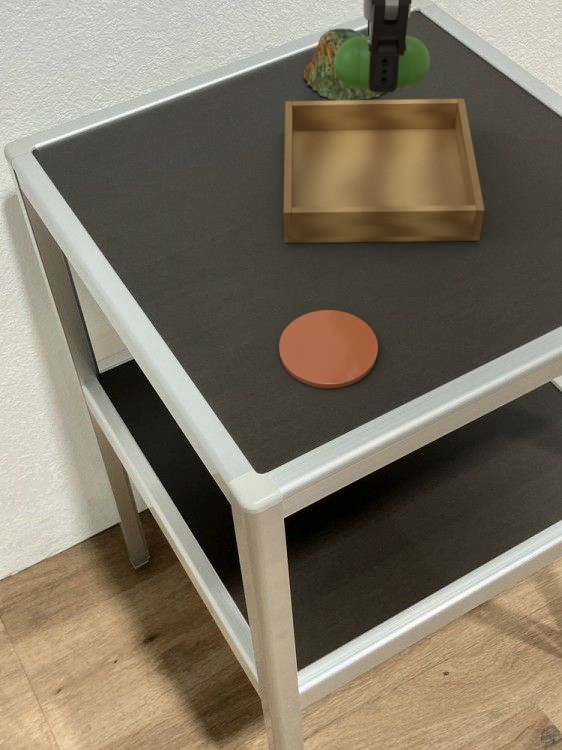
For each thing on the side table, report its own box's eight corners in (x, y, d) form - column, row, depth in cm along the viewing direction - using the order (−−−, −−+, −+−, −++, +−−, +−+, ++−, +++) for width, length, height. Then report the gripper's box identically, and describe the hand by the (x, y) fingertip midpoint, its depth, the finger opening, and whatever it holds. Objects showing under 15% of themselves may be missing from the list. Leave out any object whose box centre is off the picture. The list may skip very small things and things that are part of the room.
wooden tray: (459, 129, 97) (464, 98, 94) (479, 241, 86) (484, 210, 83) (286, 131, 97) (285, 101, 94) (284, 243, 87) (283, 212, 84)
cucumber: (425, 69, 80) (429, 25, 77) (429, 98, 77) (433, 53, 74) (333, 71, 80) (333, 27, 77) (334, 99, 77) (334, 55, 74)
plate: (375, 314, 81) (375, 309, 80) (380, 388, 76) (380, 383, 75) (279, 314, 81) (279, 310, 81) (278, 389, 76) (278, 384, 76)
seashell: (329, 74, 96) (290, 25, 102) (326, 110, 99) (288, 60, 105) (418, 57, 99) (374, 11, 105) (412, 93, 102) (370, 46, 108)
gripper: (459, -108, 60) (435, 125, 73) (440, -197, 69) (421, 24, 82) (338, -105, 60) (335, 126, 73) (335, -194, 69) (333, 26, 82)
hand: (381, 71), depth 78 cm, fingers closed on cucumber, 4 cm apart
